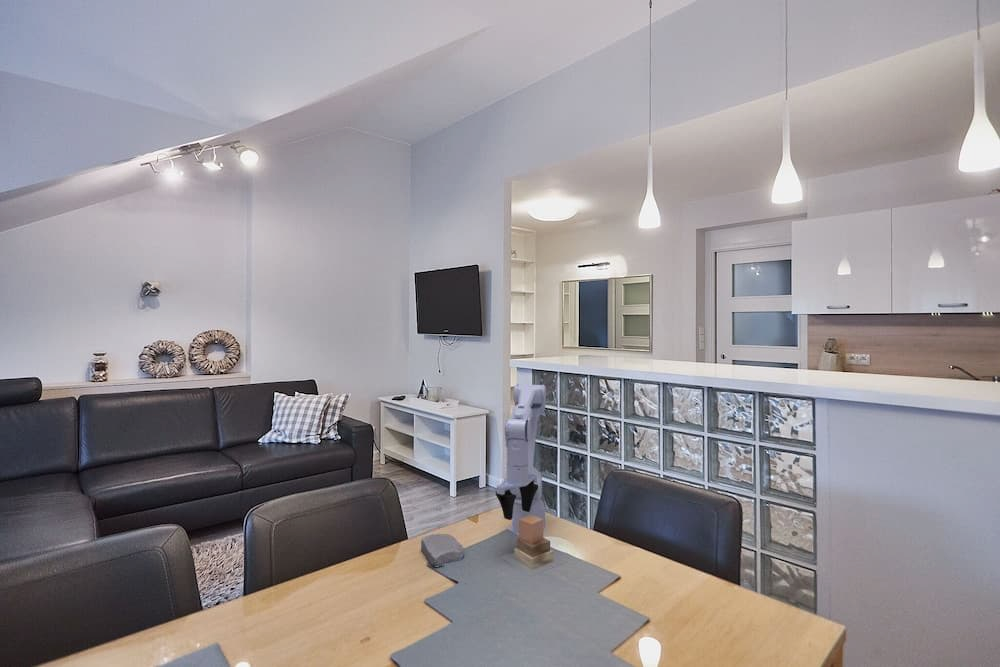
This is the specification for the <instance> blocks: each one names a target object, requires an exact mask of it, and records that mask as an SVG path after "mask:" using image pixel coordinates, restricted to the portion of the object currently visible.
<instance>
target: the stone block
mask: <svg viewBox="0 0 1000 667" xmlns="http://www.w3.org/2000/svg"><path fill="white" fill-rule="evenodd" d="M420 545H421V547H420V550H421V552H422V554H423V555H424V556H426V557H425V558H426V559H427V561H428V562H430V563H429V564H430V565H431V566H432V567H434V566H440V565H442V564H443V565H444V564H447V563H451V562H459V561H461V560H462V559H463V557H464V553H465V548H464V547H463V544H461V542H459V541H458V539H456V538H455V537H454V536H453V535H452V534H448V533H433V534H429V535H426V536H424V537H423V538H422V539H421V541H420ZM440 567H441V566H440Z"/></svg>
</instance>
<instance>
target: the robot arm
mask: <svg viewBox="0 0 1000 667" xmlns="http://www.w3.org/2000/svg"><path fill="white" fill-rule="evenodd" d="M546 401H547V387H546V386H545V384H519V383H516V384H515V385H514V386H513V402H514V403H513V404H514V406H513V409H512V411H511V415H510V418H508V420H505V422H504V438H505V448H506V477H504V478H503V479H504V480H503V482H501V483H500V484H498V485H496V490H495V496H496V498H497V499H498V501H499V503H500V504H499V505H500V506H501V509H502V514H503V517H504V519H505V520H508V521H511V520H512V521H511V525H510V526H506V527H505V528H506V529H507V530H509V531H511V532H512V533H514V534H515V535H517V536H519V519H521V518H523V517H526V516H528V515H533V516H536V517H539V518H541V519H543V531H546V530H547V529H548V528H547V527H546V506H545V503H544V501H543V500H542V497H543V496H542V494H543V482H542V481H543V476H542V473H541V472H540V471H539V470H538V469H536V468H535V467H534V463H535V455H536V454H535V451H536V438H537V426H538V425H537V424H538V421H539V418H540V416H541V415H544V414H545V410H546Z"/></svg>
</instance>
